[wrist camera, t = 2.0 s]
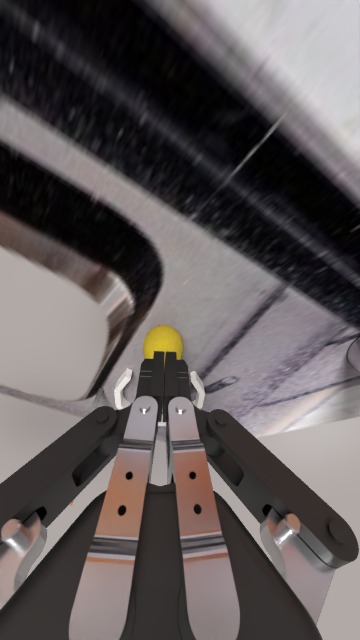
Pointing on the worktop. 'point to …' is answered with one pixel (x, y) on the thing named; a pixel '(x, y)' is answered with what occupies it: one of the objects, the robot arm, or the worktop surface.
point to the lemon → (162, 341)
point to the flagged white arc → (123, 403)
